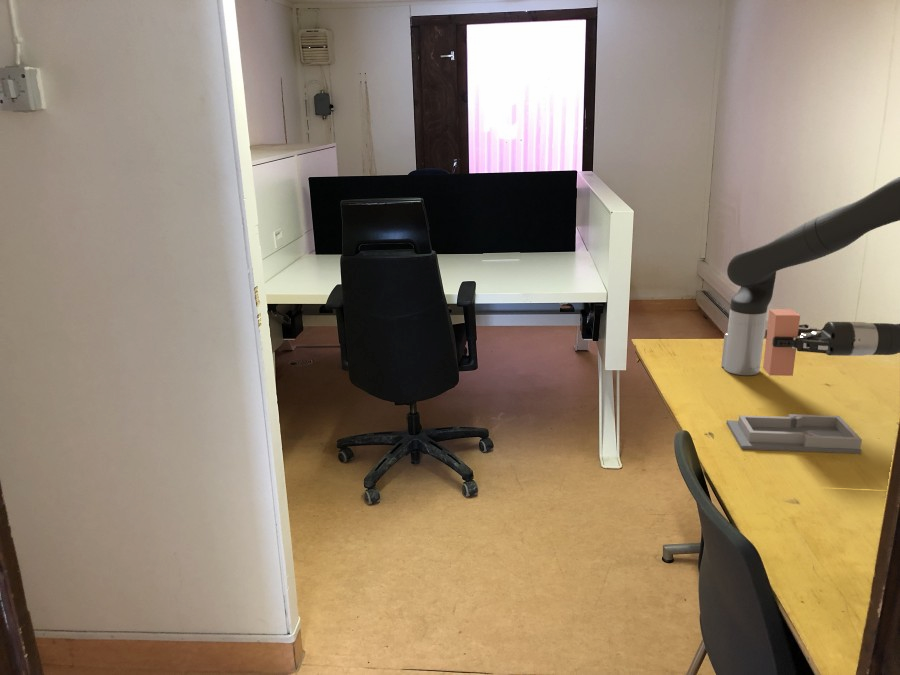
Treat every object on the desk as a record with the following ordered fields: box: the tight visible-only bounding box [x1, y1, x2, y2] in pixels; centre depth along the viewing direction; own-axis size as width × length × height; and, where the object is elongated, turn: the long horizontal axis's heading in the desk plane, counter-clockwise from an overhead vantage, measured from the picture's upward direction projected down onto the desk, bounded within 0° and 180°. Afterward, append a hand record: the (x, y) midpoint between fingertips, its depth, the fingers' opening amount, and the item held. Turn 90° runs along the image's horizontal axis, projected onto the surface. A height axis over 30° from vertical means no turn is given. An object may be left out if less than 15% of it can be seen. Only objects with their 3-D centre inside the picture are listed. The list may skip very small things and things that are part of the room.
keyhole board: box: [726, 413, 862, 454], centre depth 159 cm, size 24×13×3 cm, turn 83°
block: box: [762, 308, 801, 377], centre depth 163 cm, size 5×5×14 cm
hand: (769, 337), depth 163 cm, fingers closed on block, 5 cm apart
